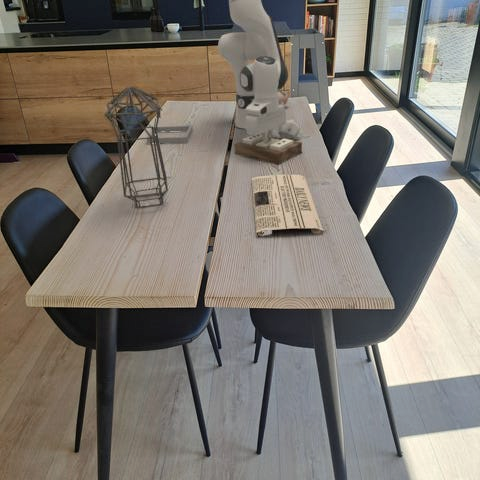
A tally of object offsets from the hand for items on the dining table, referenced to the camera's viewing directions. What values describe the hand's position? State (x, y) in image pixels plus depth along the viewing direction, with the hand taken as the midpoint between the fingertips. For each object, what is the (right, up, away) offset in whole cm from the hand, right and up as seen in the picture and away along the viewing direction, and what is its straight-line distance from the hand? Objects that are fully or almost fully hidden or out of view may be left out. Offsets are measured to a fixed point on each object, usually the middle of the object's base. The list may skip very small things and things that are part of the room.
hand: (267, 141), depth 173 cm
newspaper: (+3, -28, -37) cm, 46 cm away
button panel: (0, -4, +3) cm, 5 cm away
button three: (-5, 0, +5) cm, 7 cm away
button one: (0, -3, +2) cm, 3 cm away
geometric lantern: (-39, -25, -30) cm, 55 cm away
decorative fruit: (+9, +30, +59) cm, 67 cm away
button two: (+5, -4, -2) cm, 7 cm away
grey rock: (+10, +4, +16) cm, 19 cm away
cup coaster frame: (-41, +7, +26) cm, 49 cm away
